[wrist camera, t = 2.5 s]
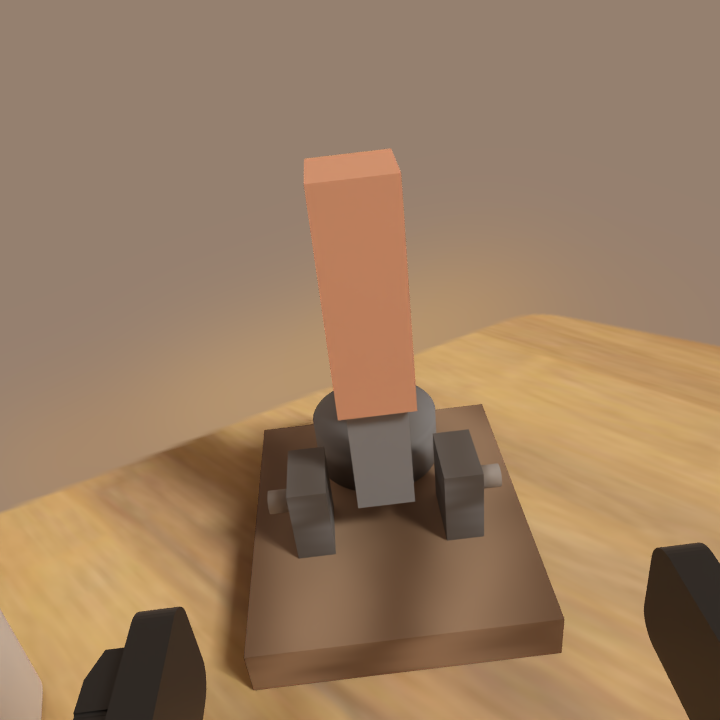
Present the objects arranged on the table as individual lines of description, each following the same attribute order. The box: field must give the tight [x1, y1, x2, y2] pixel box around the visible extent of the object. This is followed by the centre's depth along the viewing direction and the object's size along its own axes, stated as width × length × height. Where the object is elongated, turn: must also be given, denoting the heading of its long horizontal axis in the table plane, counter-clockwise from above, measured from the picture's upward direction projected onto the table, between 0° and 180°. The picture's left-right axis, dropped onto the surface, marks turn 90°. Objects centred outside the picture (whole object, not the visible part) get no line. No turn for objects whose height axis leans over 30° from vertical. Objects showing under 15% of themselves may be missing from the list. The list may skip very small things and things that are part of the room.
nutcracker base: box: [244, 386, 564, 690], centre depth 30 cm, size 12×14×8 cm
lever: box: [304, 149, 417, 508], centre depth 26 cm, size 3×3×14 cm
